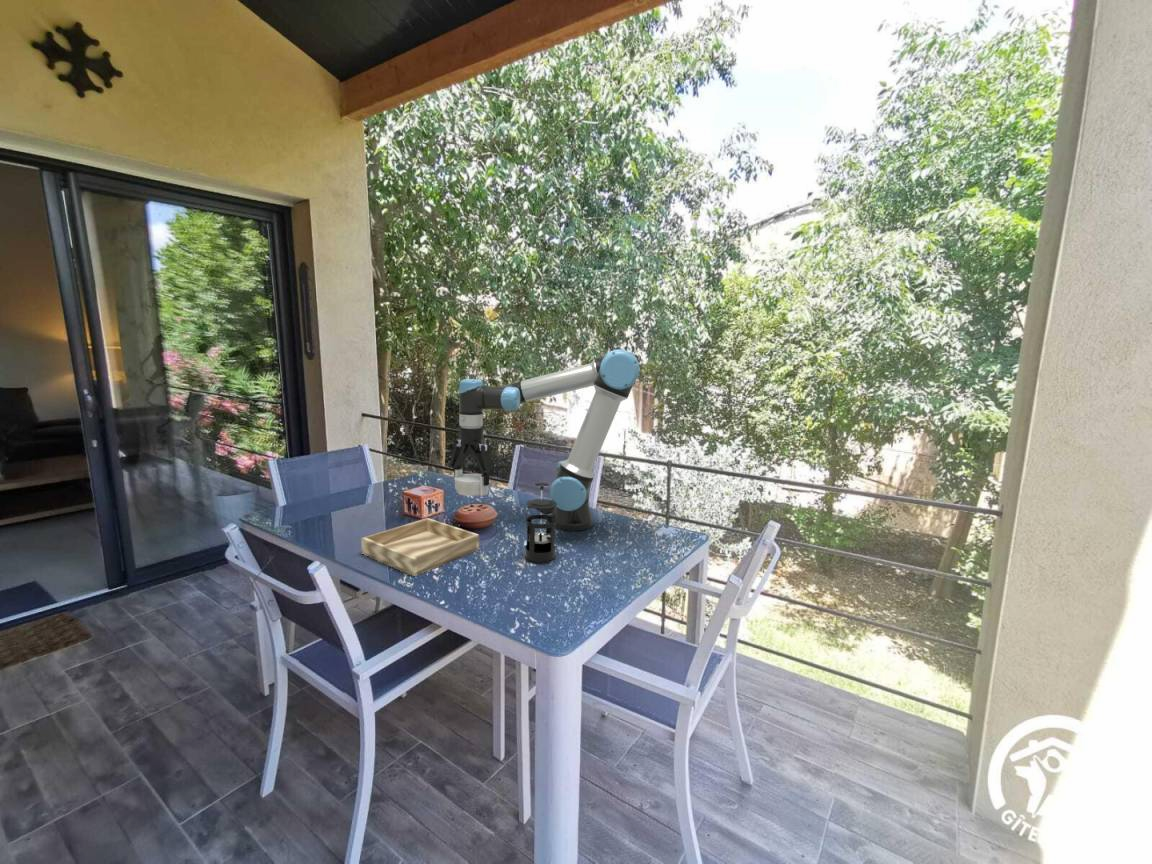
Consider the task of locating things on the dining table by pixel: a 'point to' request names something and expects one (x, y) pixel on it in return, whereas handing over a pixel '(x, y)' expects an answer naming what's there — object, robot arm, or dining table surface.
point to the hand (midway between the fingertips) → (471, 491)
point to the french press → (540, 539)
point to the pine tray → (420, 545)
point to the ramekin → (468, 484)
